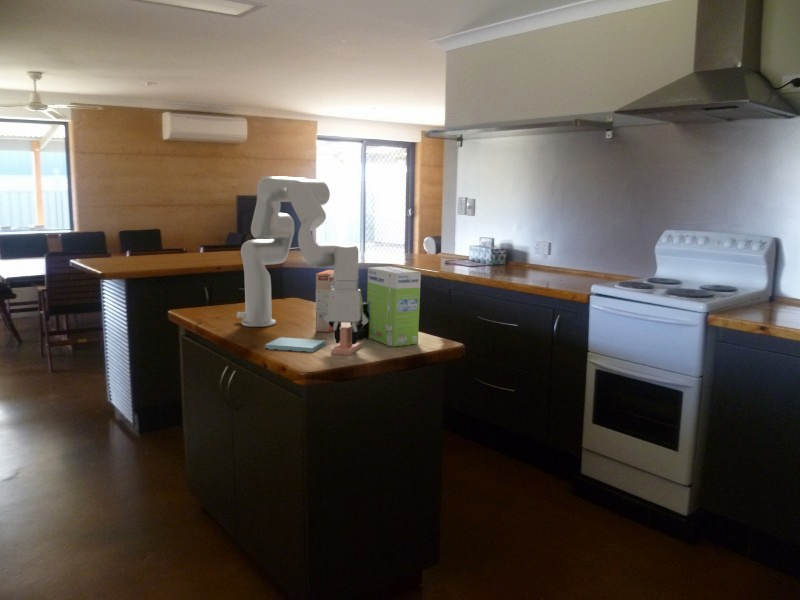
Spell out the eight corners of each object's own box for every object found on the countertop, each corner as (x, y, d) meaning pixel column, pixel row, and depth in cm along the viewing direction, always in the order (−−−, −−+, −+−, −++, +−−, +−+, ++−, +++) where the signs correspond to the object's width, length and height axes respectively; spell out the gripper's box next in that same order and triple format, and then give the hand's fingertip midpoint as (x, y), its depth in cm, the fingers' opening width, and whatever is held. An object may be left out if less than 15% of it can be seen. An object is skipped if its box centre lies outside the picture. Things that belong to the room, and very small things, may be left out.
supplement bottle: (355, 340, 217) (355, 305, 215) (347, 336, 223) (347, 302, 221) (373, 338, 220) (374, 303, 218) (365, 334, 226) (365, 300, 224)
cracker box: (331, 333, 229) (330, 274, 225) (315, 332, 230) (314, 273, 227) (342, 325, 242) (342, 269, 239) (327, 324, 243) (326, 269, 240)
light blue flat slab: (265, 348, 204) (265, 344, 204) (280, 341, 215) (280, 337, 214) (313, 352, 200) (312, 347, 200) (325, 344, 211) (325, 340, 210)
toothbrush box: (420, 344, 213) (421, 270, 209) (393, 347, 207) (394, 272, 203) (391, 334, 227) (391, 265, 223) (365, 337, 221) (365, 267, 218)
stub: (331, 353, 199) (331, 330, 198) (343, 345, 209) (343, 323, 208) (349, 355, 197) (349, 331, 196) (360, 347, 208) (360, 324, 207)
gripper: (315, 285, 198) (316, 343, 201) (368, 288, 194) (368, 347, 197) (324, 282, 206) (325, 338, 209) (376, 284, 201) (375, 342, 204)
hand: (346, 342), depth 203 cm, fingers open, 4 cm apart
